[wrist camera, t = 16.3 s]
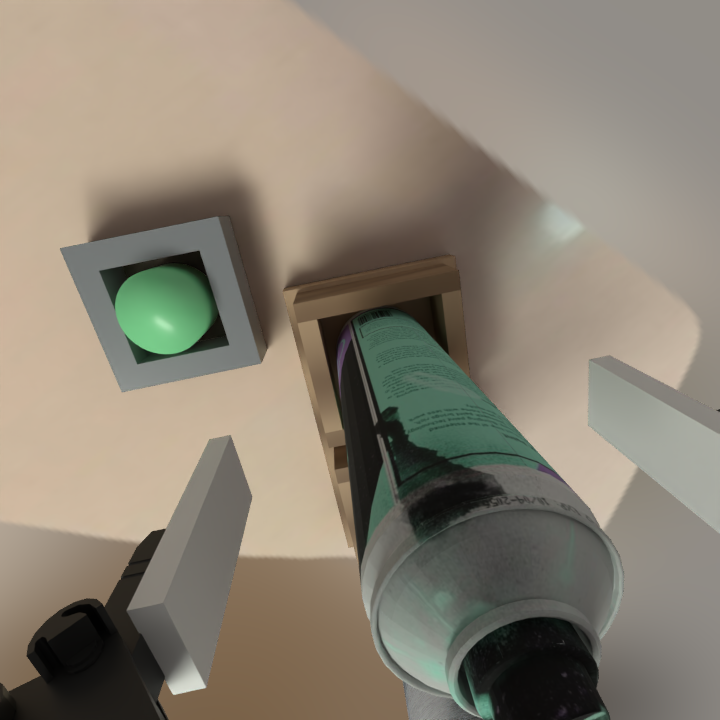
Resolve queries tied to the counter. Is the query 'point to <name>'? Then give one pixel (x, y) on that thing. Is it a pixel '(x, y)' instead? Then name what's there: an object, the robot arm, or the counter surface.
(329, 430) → the wooden double crate
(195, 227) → the gray square frame
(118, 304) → the button
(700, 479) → the robot arm
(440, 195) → the counter surface
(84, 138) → the counter surface
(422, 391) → the spray can
